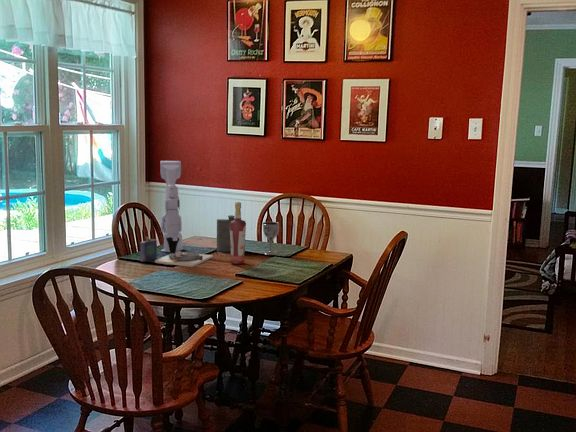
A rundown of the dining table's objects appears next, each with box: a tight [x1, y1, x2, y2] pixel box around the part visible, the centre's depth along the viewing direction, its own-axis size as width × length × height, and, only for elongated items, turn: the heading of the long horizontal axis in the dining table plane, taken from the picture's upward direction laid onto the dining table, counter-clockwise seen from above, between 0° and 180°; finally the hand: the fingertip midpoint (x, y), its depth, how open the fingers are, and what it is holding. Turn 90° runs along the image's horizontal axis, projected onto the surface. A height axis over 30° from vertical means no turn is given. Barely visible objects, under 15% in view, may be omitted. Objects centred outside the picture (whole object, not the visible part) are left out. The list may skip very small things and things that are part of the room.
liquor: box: [229, 201, 247, 266], centre depth 275 cm, size 7×7×28 cm
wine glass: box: [262, 221, 280, 256], centre depth 298 cm, size 8×8×15 cm
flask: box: [216, 214, 246, 254], centre depth 299 cm, size 4×14×18 cm, turn 79°
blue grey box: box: [139, 236, 158, 263], centre depth 279 cm, size 9×3×11 cm, turn 146°
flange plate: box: [168, 250, 200, 262], centre depth 280 cm, size 16×14×4 cm
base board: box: [154, 252, 214, 268], centre depth 281 cm, size 20×19×3 cm
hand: (172, 253), depth 281 cm, fingers closed
